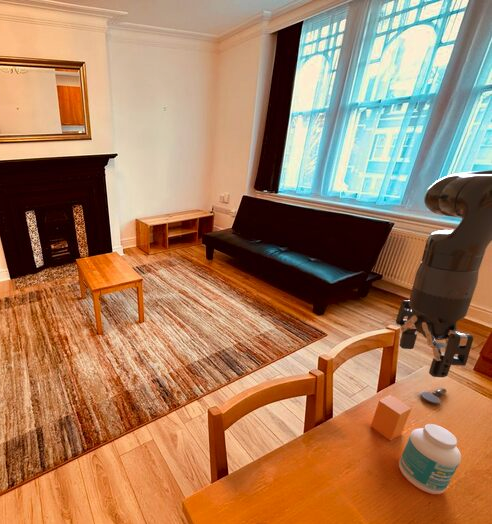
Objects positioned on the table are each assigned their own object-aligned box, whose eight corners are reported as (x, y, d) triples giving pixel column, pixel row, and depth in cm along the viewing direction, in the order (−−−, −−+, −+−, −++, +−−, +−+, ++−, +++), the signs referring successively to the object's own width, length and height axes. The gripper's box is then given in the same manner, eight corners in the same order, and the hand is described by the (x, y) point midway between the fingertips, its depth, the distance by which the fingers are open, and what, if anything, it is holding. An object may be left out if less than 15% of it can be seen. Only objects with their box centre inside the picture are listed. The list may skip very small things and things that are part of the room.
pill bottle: (428, 501, 56) (451, 457, 51) (389, 465, 63) (406, 423, 58) (453, 489, 58) (477, 445, 53) (413, 455, 65) (431, 413, 60)
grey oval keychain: (434, 386, 83) (436, 383, 82) (452, 396, 79) (454, 392, 79) (416, 396, 80) (418, 393, 79) (434, 407, 76) (436, 403, 76)
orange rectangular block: (381, 419, 74) (390, 394, 70) (401, 434, 70) (411, 408, 66) (370, 426, 72) (379, 400, 69) (390, 441, 68) (400, 414, 65)
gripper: (507, 307, 42) (475, 389, 48) (436, 273, 56) (417, 341, 61) (448, 305, 44) (423, 385, 49) (393, 273, 57) (377, 339, 62)
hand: (420, 360), depth 55 cm, fingers open, 8 cm apart
